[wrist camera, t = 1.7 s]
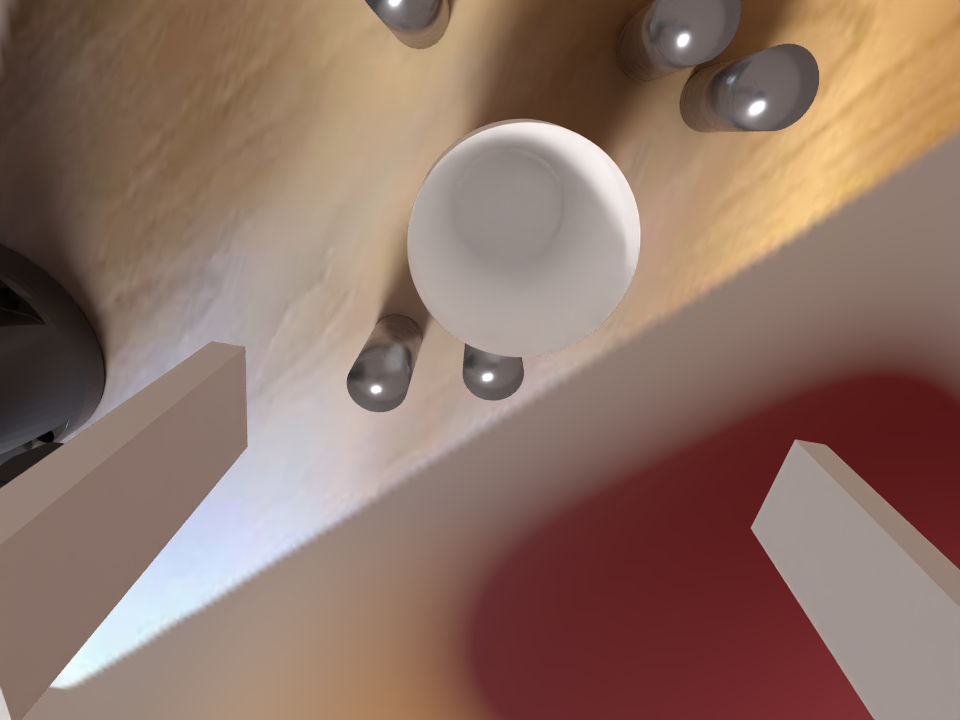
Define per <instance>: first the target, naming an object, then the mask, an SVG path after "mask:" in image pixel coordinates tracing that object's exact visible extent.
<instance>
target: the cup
mask: <svg viewBox="0 0 960 720" xmlns="http://www.w3.org/2000/svg"><path fill="white" fill-rule="evenodd" d="M639 251H640V221H639V215H638V210H637V205H636V202H635V199H634V196H633V193H632V191H631V189H630V186H629V184H628V182H627V181H626V179H625V177H624V175H623V174H622V172H621V171H620V169H619V168H618V167H617V165H616V164H615V163H614V162H613V161H612V159H611V158H610V157H609V156H608V155H607V154H606V153H605V152H604V151H603V150H601V149H600V148H599V147H598V146H597V145H595V144H594V143H592V142H591V141H590V140H588V139H586V138H584V137H583V136H581V135H579V134H577V133H575V132H572V131H570V130H568V129H566V128H563V127H561V126H559V125H556V124H553V123H549V122H546V121H540V120H534V119H510V120H503V121H498V122H494V123H490V124H488V125H485V126H482V127H480V128H478V129H476V130H474V131H471V132H469V133H468V134H466V135H465V136H463V137H461V138H460V139H459V140H457V141H456V142H455V143H453V144H452V145H451V146H450V147H449V148H448V149H447V150H446V151H445V152H444V153H443V154H442V155H441V156H440V157H439V158H438V159H437V161H436V162H435V163H434V164H433V166H432V167H431V169H430V170H429V172H428V174H427V175H426V177H425V179H424V181H423V183H422V185H421V188H420V190H419V192H418V195H417V197H416V200H415V202H414V205H413V208H412V211H411V215H410V220H409V225H408V233H407V254H408V262H409V268H410V272H411V276H412V279H413V282H414V285H415V287H416V290H417V292H418V294H419V296H420V298H421V300H422V302H423V303H424V305H425V306H426V308H427V309H428V311H429V312H430V313H431V315H432V316H433V317H434V318H435V319H436V321H437V322H438V323H439V324H440V325H441V326H442V327H443V328H445V329H446V330H447V331H448V332H449V333H450V334H452V335H453V336H455V337H456V338H457V339H459V340H461V341H462V342H464V343H466V344H468V345H470V346H472V347H474V348H476V349H479V350H482V351H485V352H488V353H492V354H496V355H501V356H509V357H531V356H539V355H544V354H549V353H552V352H555V351H559V350H561V349H564V348H566V347H569V346H571V345H573V344H575V343H576V342H578V341H580V340H582V339H583V338H585V337H586V336H588V335H589V334H591V333H592V332H593V331H595V330H596V329H597V328H598V327H599V326H600V325H601V324H603V323H604V322H605V321H606V319H607V318H608V317H609V316H610V315H611V314H612V313H613V312H614V310H615V309H616V308H617V306H618V305H619V303H620V302H621V300H622V299H623V297H624V296H625V294H626V292H627V290H628V288H629V286H630V283H631V281H632V278H633V276H634V273H635V270H636V266H637V262H638V257H639Z"/></svg>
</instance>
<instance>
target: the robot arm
mask: <svg viewBox="0 0 960 720" xmlns="http://www.w3.org/2000/svg"><path fill="white" fill-rule="evenodd" d="M103 386H104V366H103V360H102V355H101V351H100V348H99V345H98V342H97V340H96V337H95V335H94V333H93V331H92V329H91V327H90V325H89V323H88V322H87V320H86V318H85V317H84V315H83V314H82V312H81V311H80V309H79V308H78V307H77V305H76V304H75V303H74V301H73V300H72V299H71V298H70V296H69V295H68V294H67V293H66V292H65V291H64V290H63V289H62V288H61V287H60V286H59V285H58V284H57V283H56V282H55V281H54V280H53V279H52V278H50V277H49V276H48V275H47V274H46V273H45V272H43V271H42V270H41V269H39V268H38V267H37V266H35V265H34V264H33V263H31V262H30V261H28V260H27V259H25V258H23V257H22V256H20V255H18V254H17V253H15V252H13V251H11V250H9V249H7V248H5V247H3V246H1V245H0V720H22V718H23V717H24V716H25V715H26V713H27V712H28V711H29V710H30V709H31V708H32V706H33V705H34V704H35V703H36V702H37V700H38V699H39V698H40V697H41V695H42V694H43V693H44V692H45V691H46V689H47V688H48V687H49V686H50V685H51V683H52V682H53V681H54V680H55V679H56V677H57V676H58V675H59V674H60V673H61V671H62V670H63V669H64V668H65V667H66V665H67V664H68V663H69V662H70V660H71V659H72V658H73V657H74V656H75V654H76V653H77V652H78V651H79V650H80V648H81V647H82V646H83V645H84V644H85V642H86V641H87V640H88V639H89V638H90V636H91V635H92V634H93V633H94V631H95V630H96V629H97V628H98V627H99V625H100V624H101V623H102V622H103V621H104V619H105V618H106V617H107V616H108V615H109V613H110V612H111V611H112V610H113V609H114V607H115V606H116V605H117V604H118V602H119V601H120V600H121V599H122V598H123V596H124V595H125V594H126V593H127V592H128V590H129V589H130V588H131V587H132V586H133V584H134V583H135V582H136V581H137V579H138V578H139V577H140V576H141V575H142V573H143V572H144V571H145V570H146V569H147V567H148V566H149V565H150V564H151V563H152V561H153V560H154V559H155V558H156V557H157V555H158V554H159V553H160V552H161V550H162V549H163V548H164V547H165V546H166V544H167V543H168V542H169V541H170V540H171V538H172V537H173V536H174V535H175V534H176V532H177V531H178V530H179V529H180V528H181V526H182V525H183V524H184V523H185V521H186V520H187V519H188V518H189V517H190V515H191V514H192V513H193V512H194V511H195V509H196V508H197V507H198V506H199V505H200V503H201V502H202V501H203V500H204V499H205V497H206V496H207V495H208V494H209V492H210V491H211V490H212V489H213V488H214V486H215V485H216V484H217V483H218V482H219V480H220V479H221V478H222V477H223V476H224V474H225V473H226V472H227V471H228V470H229V468H230V467H231V466H232V465H233V463H234V462H235V461H236V460H237V459H238V457H239V456H240V455H241V454H242V453H243V451H244V450H245V449H246V448H247V403H246V358H245V347H242V346H236V345H230V344H225V343H219V342H213V341H212V342H210V343H209V344H207V345H206V346H205V347H203V348H202V349H200V350H199V351H197V352H196V353H194V354H193V355H192V356H190V357H189V358H187V359H186V360H184V361H183V362H182V363H180V364H179V365H177V366H176V367H174V368H173V369H171V370H170V371H169V372H167V373H166V374H164V375H163V376H161V377H160V378H159V379H157V380H156V381H154V382H153V383H151V384H150V385H148V386H147V387H146V388H144V389H143V390H141V391H140V392H138V393H137V394H136V395H134V396H133V397H131V398H130V399H128V400H127V401H125V402H124V403H123V404H121V405H120V406H118V407H117V408H115V409H114V410H113V411H111V412H110V413H108V414H107V415H105V416H104V417H102V418H101V419H100V420H98V421H97V422H95V423H94V424H92V425H91V426H90V427H88V428H87V429H85V430H84V431H82V432H81V433H79V434H78V435H77V436H75V437H74V438H72V439H71V440H69V441H68V442H67V443H65V444H63V443H59V442H60V441H61V440H63V439H64V438H66V437H67V436H68V435H70V434H71V433H73V432H74V431H75V430H77V429H78V428H80V427H81V426H82V425H83V424H84V423H86V422H87V420H88V419H89V418H90V417H91V416H92V414H93V413H94V412H95V410H96V408H97V406H98V404H99V402H100V399H101V396H102V392H103ZM751 529H752V531H753V532H754V534H755V535H756V537H757V538H758V540H759V541H760V543H761V545H762V546H763V548H764V549H765V551H766V553H767V554H768V556H769V557H770V559H771V560H772V562H773V563H774V565H775V566H776V568H777V569H778V571H779V572H780V574H781V576H782V577H783V579H784V580H785V582H786V583H787V585H788V587H789V588H790V590H791V591H792V593H793V594H794V596H795V597H796V599H797V601H798V602H799V604H800V605H801V607H802V608H803V610H804V611H805V613H806V614H807V616H808V618H809V619H810V621H811V622H812V624H813V625H814V627H815V629H816V630H817V631H818V633H819V635H820V636H821V638H822V639H823V641H824V642H825V644H826V646H827V647H828V649H829V650H830V652H831V653H832V655H833V656H834V658H835V660H836V661H837V663H838V664H839V666H840V667H841V669H842V670H843V672H844V674H845V675H846V677H847V678H848V680H849V681H850V683H851V684H852V686H853V687H854V689H855V690H856V692H857V694H858V695H859V697H860V698H861V700H862V701H863V703H864V704H865V706H866V708H867V709H868V711H869V712H870V714H871V715H872V717H873V718H874V720H960V570H959V569H958V568H957V567H956V566H955V565H953V564H952V563H951V562H950V561H949V560H948V559H947V558H946V557H945V556H944V555H943V554H942V553H941V552H940V551H939V550H938V549H936V548H935V547H934V546H933V545H932V544H931V543H930V542H929V541H928V540H927V539H926V538H925V537H923V536H922V534H920V533H919V532H918V531H917V530H916V529H915V528H914V527H913V526H912V525H911V524H910V523H909V522H908V521H907V520H905V519H904V518H903V517H902V516H901V515H900V514H899V513H898V512H897V511H896V510H895V509H893V507H892V506H891V505H889V504H888V503H887V502H886V501H885V500H884V499H883V498H882V497H881V496H880V495H879V494H877V492H875V491H874V490H873V489H872V488H871V487H870V486H869V485H868V484H867V483H866V482H865V481H864V480H863V479H861V477H860V476H859V475H857V474H856V473H855V472H854V471H853V470H852V469H851V468H849V466H848V465H847V464H846V463H845V462H844V461H842V460H841V459H840V458H839V457H838V456H837V455H836V454H835V453H834V452H833V451H832V450H831V449H830V448H828V446H826V445H823V444H817V443H811V442H805V441H800V440H795V441H794V443H793V445H792V447H791V449H790V451H789V453H788V455H787V457H786V459H785V461H784V463H783V465H782V467H781V469H780V471H779V473H778V475H777V477H776V479H775V481H774V483H773V485H772V487H771V489H770V491H769V493H768V495H767V497H766V499H765V501H764V503H763V505H762V507H761V509H760V511H759V513H758V515H757V517H756V519H755V521H754V523H753V525H752V527H751Z"/></svg>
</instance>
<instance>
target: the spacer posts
mask: <svg viewBox="0 0 960 720" xmlns="http://www.w3.org/2000/svg"><path fill="white" fill-rule="evenodd" d="M365 1H366V3H367V4H368V5H369V6H370V7H371V9H372V10H373V11H374V12H375V13H376V14H377V15H378V17H379V18H380V19H381V20H382V21H383V22H384V23H385V25H386V26H387V27H388V28H389V29H390V30H391V31H392V33H393V34H394V35H395V36H396V37H397V38H398V39H399V40H400V41H401V42H402V43H403V44H405V45H407V46H409V47H411V48H415V49H424V48H428V47H431V46H433V45H434V44H436V43H437V42H438V41H439V40H440V39H441V38H442V36H443V35H444V33H445V31H446V29H447V26H448V23H449V13H450V12H449V4H448V0H365ZM740 18H741V0H653V1H652V2H651V3H649V4H648V5H647V6H646V7H644V8H643V9H642V10H641V11H639V12H638V13H637V14H635V15H634V16H633V17H632V18H631V19H630V20H629V21H628V22H627V23H626V24H625V25H624V27H623V28H622V30H621V32H620V35H619V37H618V41H617V50H616V52H617V59H618V63H619V65H620V67H621V69H622V70H623V72H624V73H625V74H626V75H627V76H628V77H630V78H632V79H634V80H637V81H650V80H653V79H656V78H659V77H662V76H665V75H668V74H671V73H674V72H677V71H680V70H683V69H686V68H689V67H692V66H695V65H698V64H701V63H704V62H707V61H709V60H711V59H713V58H715V57H716V56H718V55H719V54H720V53H721V52H722V51H724V49H725V48H726V47H727V46H728V45H729V43H730V42H731V41H732V39H733V37H734V36H735V33H736V31H737V29H738V26H739V23H740ZM818 85H819V70H818V65H817V63H816V60H815V58H814V57H813V55H812V54H811V53H810V52H809V51H808V50H807V49H805V48H804V47H801V46H799V45H795V44H782V45H778V46H774V47H771V48H768V49H765V50H761V51H758V52H755V53H752V54H748V55H745V56H742V57H739V58H735V59H732V60H729V61H726V62H722V63H719V64H716V65H712V66H709V67H706V68H704V69H702V70H700V71H698V72H697V73H695V74H694V75H693V76H692V77H691V78H690V79H689V81H688V82H687V83H686V85H685V87H684V89H683V91H682V94H681V98H680V112H681V115H682V118H683V120H684V122H685V123H686V124H687V125H688V126H689V127H690V128H691V129H693V130H695V131H699V132H748V131H776V130H781V129H784V128H786V127H788V126H790V125H792V124H793V123H795V122H796V121H798V120H799V119H800V118H801V117H802V116H803V115H804V114H805V113H806V111H807V110H808V109H809V107H810V106H811V104H812V102H813V100H814V98H815V96H816V93H817V90H818ZM421 343H422V334H421V331H420V328H419V327H418V325H417V324H416V323H415V322H414V321H413V320H412V319H410V318H409V317H407V316H404V315H399V314H393V315H388V316H386V317H384V318H382V319H381V320H380V321H379V322H378V323H377V324H376V326H375V328H374V330H373V331H372V333H371V335H370V337H369V338H368V340H367V342H366V344H365V345H364V347H363V349H362V351H361V353H360V354H359V356H358V358H357V360H356V361H355V363H354V365H353V367H352V368H351V370H350V372H349V374H348V377H347V388H348V392H349V394H350V396H351V397H352V399H353V400H354V401H355V402H356V403H357V404H358V405H359V406H361V407H362V408H364V409H367V410H369V411H373V412H386V411H390V410H392V409H394V408H396V407H398V406H399V405H400V404H401V403H402V402H403V400H404V399H405V397H406V394H407V390H408V387H409V384H410V380H411V377H412V373H413V370H414V367H415V363H416V360H417V357H418V353H419V350H420V347H421ZM523 377H524V369H523V363H522V357H509V356H501V355H496V354H492V353H488V352H485V351H482V350H479V349H476V348H474V347H472V346H470V345H468V344H466V343H465V351H464V362H463V379H464V382H465V385H466V386H467V388H468V389H469V390H470V391H471V392H472V393H473V394H474V395H476V396H477V397H479V398H482V399H485V400H501V399H504V398H507V397H509V396H510V395H512V394H513V393H515V392H516V391H517V389H518V388H519V387H520V385H521V383H522V381H523Z"/></svg>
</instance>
